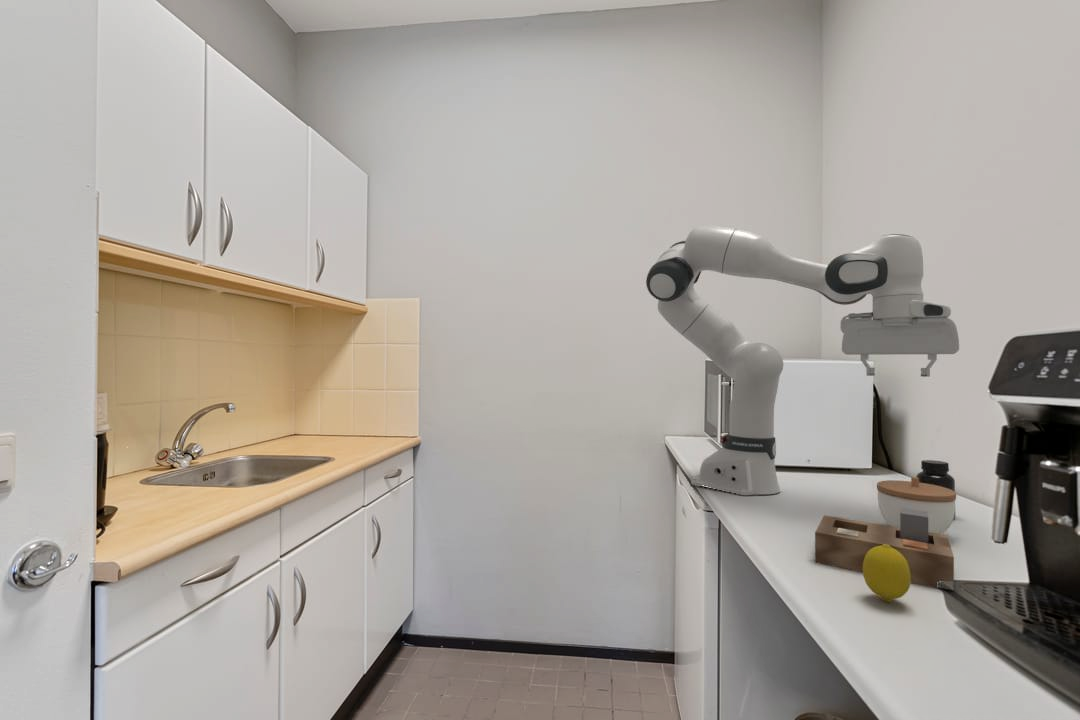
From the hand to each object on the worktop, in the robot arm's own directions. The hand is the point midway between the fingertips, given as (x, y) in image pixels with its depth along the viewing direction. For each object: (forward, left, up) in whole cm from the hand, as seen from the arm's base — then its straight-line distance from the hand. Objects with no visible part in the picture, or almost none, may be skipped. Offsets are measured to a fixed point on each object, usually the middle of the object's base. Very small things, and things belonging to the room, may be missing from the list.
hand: (897, 376), depth 106 cm
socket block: (-2, -29, -31) cm, 43 cm away
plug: (+2, -27, -31) cm, 42 cm away
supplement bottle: (+7, +12, -31) cm, 34 cm away
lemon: (-1, -45, -31) cm, 55 cm away
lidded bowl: (+3, -6, -31) cm, 32 cm away
